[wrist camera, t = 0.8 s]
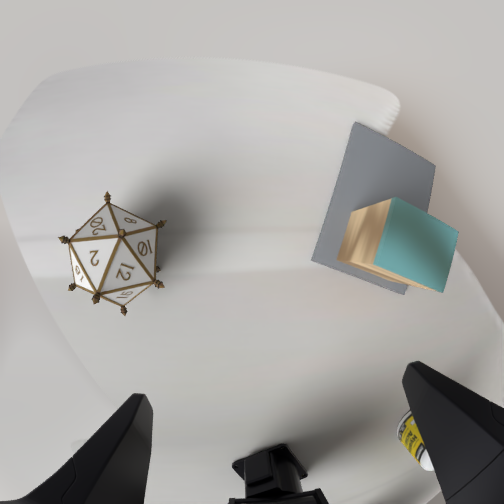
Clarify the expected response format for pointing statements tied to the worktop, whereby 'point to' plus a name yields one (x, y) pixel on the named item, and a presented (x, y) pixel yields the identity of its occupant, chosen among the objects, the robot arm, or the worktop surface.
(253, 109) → the worktop surface
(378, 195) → the mat
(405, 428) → the supplement bottle
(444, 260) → the oak block
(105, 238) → the game die
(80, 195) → the worktop surface
